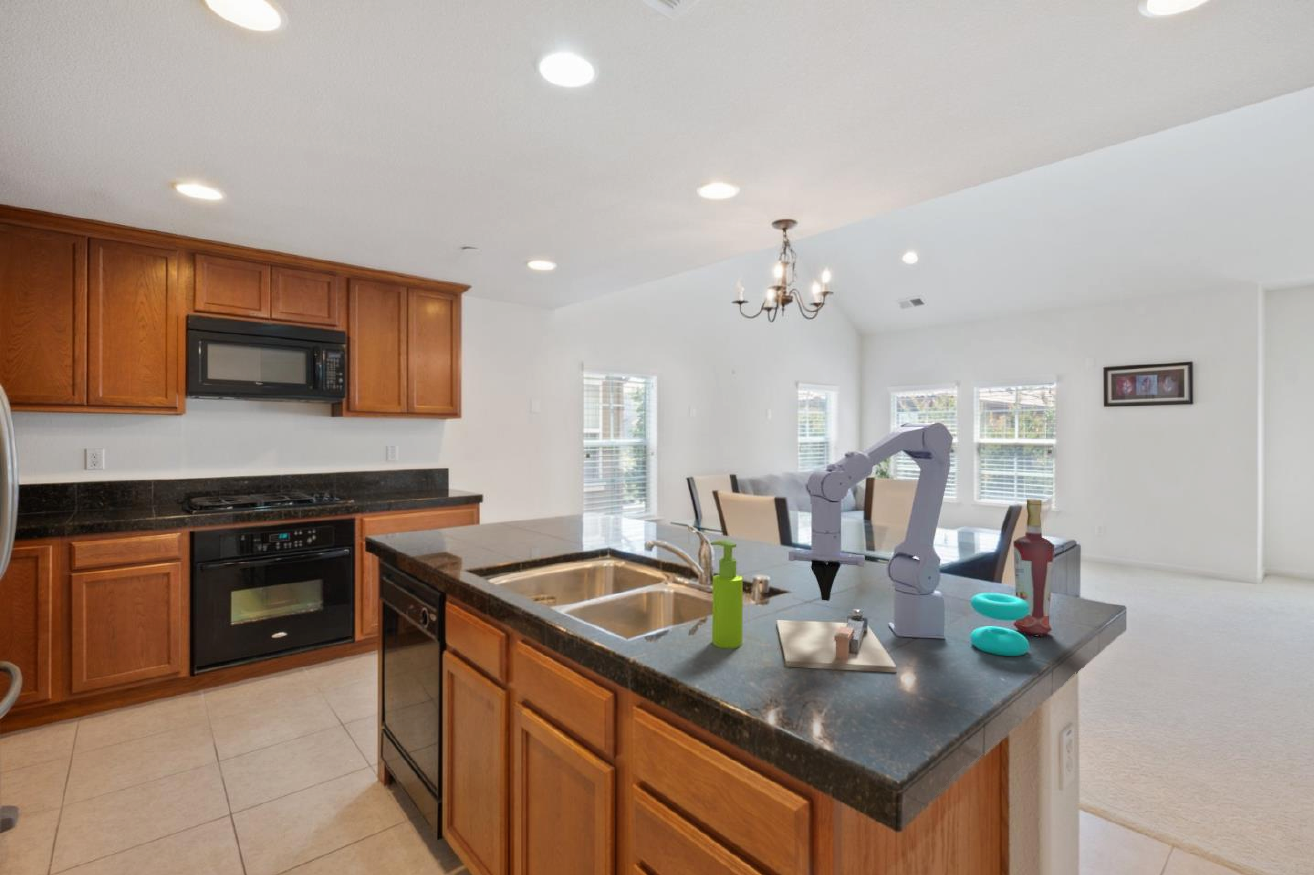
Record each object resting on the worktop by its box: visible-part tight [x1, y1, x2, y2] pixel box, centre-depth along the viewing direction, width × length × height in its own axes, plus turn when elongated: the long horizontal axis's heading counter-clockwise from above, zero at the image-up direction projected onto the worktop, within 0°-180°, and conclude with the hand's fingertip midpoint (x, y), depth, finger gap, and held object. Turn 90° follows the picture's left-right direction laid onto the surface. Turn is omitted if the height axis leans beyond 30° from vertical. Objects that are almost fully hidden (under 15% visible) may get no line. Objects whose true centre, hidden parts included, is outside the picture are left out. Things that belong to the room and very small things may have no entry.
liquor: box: [1013, 498, 1055, 637], centre depth 130 cm, size 7×7×28 cm
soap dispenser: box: [709, 540, 744, 649], centre depth 123 cm, size 6×7×20 cm
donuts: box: [969, 592, 1030, 657], centre depth 120 cm, size 10×10×10 cm
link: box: [846, 608, 869, 653], centre depth 122 cm, size 16×4×4 cm, turn 156°
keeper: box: [834, 626, 854, 660], centre depth 115 cm, size 6×2×4 cm, turn 153°
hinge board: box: [776, 619, 897, 673], centre depth 121 cm, size 19×24×1 cm
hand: (825, 599), depth 123 cm, fingers closed
